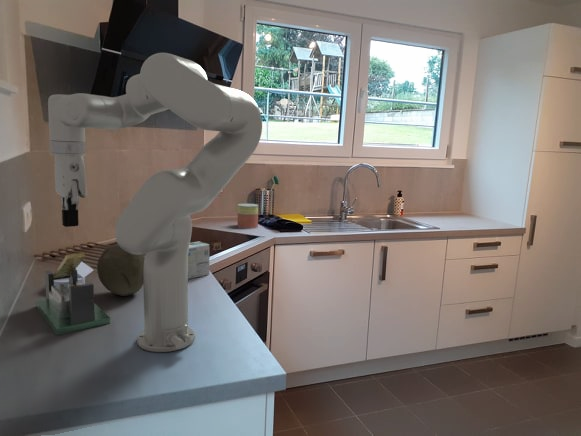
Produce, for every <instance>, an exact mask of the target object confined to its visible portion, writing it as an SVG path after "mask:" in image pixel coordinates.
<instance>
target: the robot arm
mask: <svg viewBox="0 0 581 436" xmlns="http://www.w3.org/2000/svg"><path fill="white" fill-rule="evenodd" d="M47 100H48V101H47V106H48V107H47V109H48V110H47V111H48V131H49V132H48V134H49V155H50V156H54V187H55V189H54V190H55V194H57V195H58V196H60V200H61V219H62V220H61V221H62V222H61V223H62V226H63V227H65V228H68V227H78V226H79V204H80V203H79V197H80V198H83V199H85V198H87V196H88V189H87V176H86V174H87V173H86V167H85V160H84V157H86V155H87V154H86V129H88V130H89V129H93V130H95V129H97V130H108V131H109V130H113V131H114V130H120V129H125V128H128V127H132V126H135V125H138V124H141V123H143V122H145V121H146V120H147V119H149V118H150V117H151V115H155V114H158V113H162V112H165V111H167V110H168V111H171V112H172V113H173V114H175V115H177V116H178V117H179V118H181V119H182V120H184V121H186V122H187V123H188V124H191V125H192V126H194V127H195V128H198V129H200V130H204V131H211V132H218V133H216V135H215V136H214V137H213V138H211V139H210V140H209V141H207V142H206V143H205V144H204V145H203V146H202V147H201V148H200V149H199V151H198V152H197V154H196V155H195V156H194V157H193V158H192V159H191V161H190V162H189V163H188V164H187V165H185V166H184V167H181V168H171V169H164V170H161V171H158V172H155V174H153V175H151V176H150V177H148V179H147V180H145V182H144V183H143V184H142V186H141V187H140V188H139V190H138V191H137V192H136V193H135V195H134V196H133V197H132V198H131V200H130V201H129V202H128V204H127V205H126V206H125V208H124V209H123V210H122V212H121V213H120V214H119V216H118V218H117V220H116V224H115V227H114V235H115V241H116V242H117V243H116V244H119V246H120V247H121V248H122V249H123V250H124V251H126V252H128V253H131V254H136V255H140V254H143V255H144V258H145V259H144V268H143V274H144V275H143V278H144V280H143V281H144V284H143V321H144V323H143V325H144V327H143V328H144V330H143V331H141V332H140V333H139V334H138V336H137V339H136V340H137V345H138V346H139V348H141V349H142V350H144V351H145V350H146V351H147V352H148V351H149V352H153V353H168V352H174V351H179V350H182V349H184V348H187V347H188V346H190V345H191V344H193V343H194V341H195V337H196V335H195V331H194V330H193V329H192V328H190V327H189V322H188V321H189V319H188V316H189V315H188V314H189V309H188V308H189V300H188V299H189V292H188V291H189V289H188V288H189V284H188V283H189V281H188V280H189V279H188V252H189V244H190V243H191V238H192V232H193V221H192V218H191V215H194V214H198V213H201V212H203V211H204V210H206V209H208V207H209V206H210V205H211V204H212V203H213V201H214V200H215V199H216V198H217V197H218V195H220V193H221V192H222V190H224V188H225V187H226V186H227V185H228V184H229V183H230V181H231V180H232V179H233V177H235V176H236V174H237V173H238V172H239V171H240V170H241V168H242V167H243V166H244V165H245V164H246V162H248V160H249V159H250V158H251V156H252V155H253V154H254V152H255V151H256V149H257V147H258V145H259V143H260V140H261V137H262V132H263V117H262V114H261V110H260V107H259V106H258V103H257V102H256V101H255V100H254V98H253V97H252V96H250V95H249V94H248V93H246V92H244V91H242V90H240V89H237V88H233V87H229V86H225V85H221V84H217V83H214V82H212V81H210V80H208V76H207V73H206V71H205V70H204V69H203V68H202V66H201V65H200V64H198V63H196V62H195V61H194V60H191V59H187V58H184V57H183V56H182V57H181V56H178V55H175V54H173V53H168V52H157V53H154V54H152V55H150V56H148V58H146V59H145V61H143V63H142V66H141V68H140V73H137V74H135V75H132V76H131V77H130V78H128V79H127V82H126V85H125V94H122V95H119V96H114V97H111V96H106V95H97V94H91V93H81V92H80V93H79V92H77V93H73V94H59V93H58V94H51V95H50V96H49V97H48V99H47Z"/></svg>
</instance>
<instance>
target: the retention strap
mask: <svg viewBox="0 0 581 436" xmlns="http://www.w3.org/2000/svg"><path fill="white" fill-rule="evenodd" d="M85 258H86V253H85V252H78V253H71V254H66V255H65V257H64V258H63V260H62V261H61V262H60V264H59V266H58V267H57V269H56V270H55V272H54V273H53V275H54V280H58V279H65V278H70V276H71V274H72V273H73V272H74V270H75V269H76V268H77V267H78V265H79V264H80V263H81V261H82V262H83V261H84V259H85Z"/></svg>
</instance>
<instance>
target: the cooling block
mask: <svg viewBox="0 0 581 436" xmlns="http://www.w3.org/2000/svg"><path fill="white" fill-rule="evenodd" d="M53 274H54V273H53V272H52V271H51V270H50V269H49V270H48V269H47V270H44V278H45V295H46V296H45V297H46V299H40V300H36V301H35V307H36V308H37V310H38V311H39V313H40V314H41V315H42V316H43V318H44V320H45V321H46V322H47V324H48V325H49V327H50V328H51V329H52V331H53V332H54V334H56V336H58V335H63V334H67V333H72V332H77V331H81V330H87V329H90V328H94V327H98V326H103V325H104V326H105V325H108V324H111V318H110V316H109V315H108V314H107V313H106V312H105V311H104V310H103V309H102V308H100V307H99V305H97V304H96V303H95V293H94V292H95V290H94V289H95V288H94V284H93V283H92V282H89V283H85V284H82V283H80V282H79V281H78V279H77V270H76V269H75V270H74V272H73V273H72V274H71V276H70V278H69V283H68V289H67V288H66V287H65V286H64V285H63V284H60V290H58V289H57V288H56V286H55V285H54V275H53Z"/></svg>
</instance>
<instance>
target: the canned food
mask: <svg viewBox="0 0 581 436" xmlns="http://www.w3.org/2000/svg"><path fill="white" fill-rule="evenodd" d="M236 225H237V226H236V227H237V228H239V229H246V230H247V229H248V230H249V229H250V230H251V229H257V228H259V204H256V203H238V204H237V224H236Z"/></svg>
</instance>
